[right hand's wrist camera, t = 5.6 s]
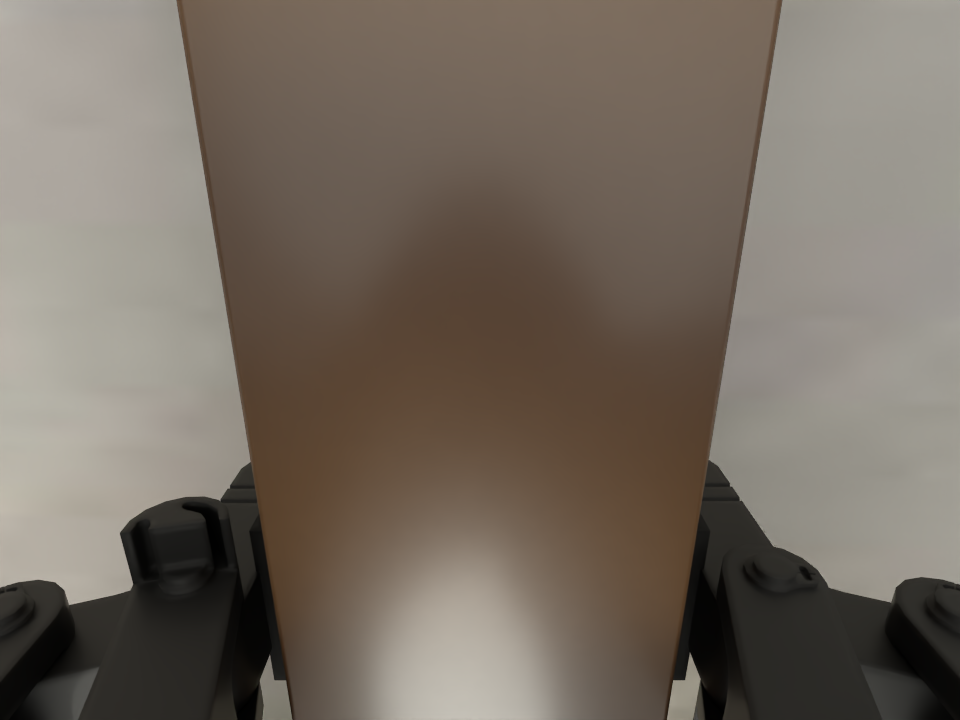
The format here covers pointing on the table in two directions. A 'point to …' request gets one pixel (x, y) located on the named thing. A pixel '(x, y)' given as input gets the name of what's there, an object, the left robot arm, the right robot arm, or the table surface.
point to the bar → (479, 331)
